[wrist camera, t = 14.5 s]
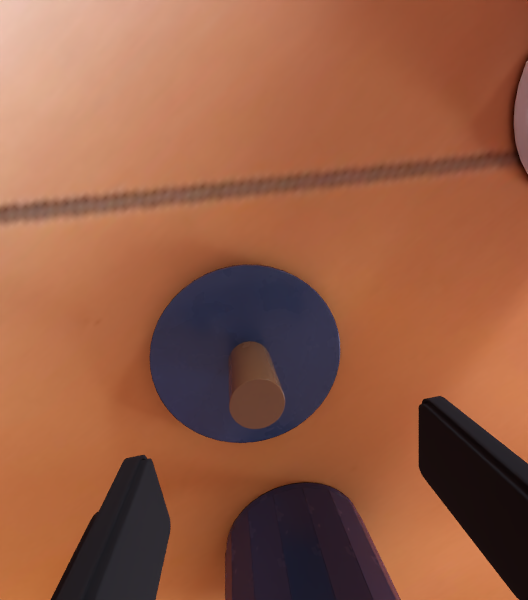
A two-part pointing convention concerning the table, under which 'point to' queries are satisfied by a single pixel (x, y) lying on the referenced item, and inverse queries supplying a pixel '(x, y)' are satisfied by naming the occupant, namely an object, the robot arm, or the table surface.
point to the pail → (303, 549)
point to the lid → (244, 353)
